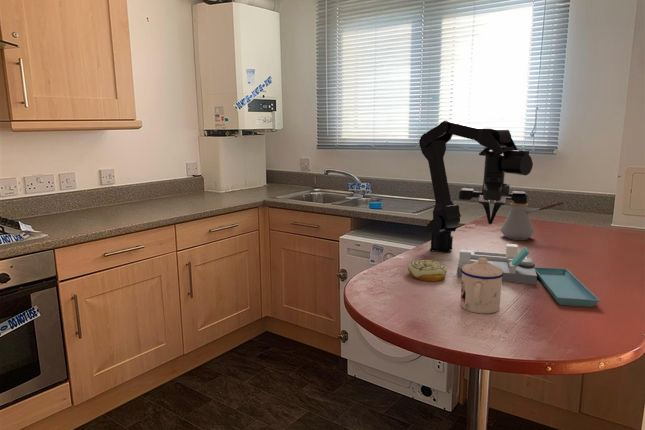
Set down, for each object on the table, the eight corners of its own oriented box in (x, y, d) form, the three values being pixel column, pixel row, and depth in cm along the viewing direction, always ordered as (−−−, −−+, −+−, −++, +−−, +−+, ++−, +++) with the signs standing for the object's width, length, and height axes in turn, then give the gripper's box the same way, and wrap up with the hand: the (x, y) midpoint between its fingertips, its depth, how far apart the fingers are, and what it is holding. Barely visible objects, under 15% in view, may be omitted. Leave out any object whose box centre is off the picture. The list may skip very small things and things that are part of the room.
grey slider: (458, 265, 133) (459, 251, 132) (459, 262, 135) (460, 249, 135) (470, 266, 132) (470, 252, 131) (470, 263, 134) (471, 250, 134)
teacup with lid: (462, 297, 116) (465, 251, 113) (502, 303, 112) (506, 255, 110) (453, 315, 105) (456, 264, 103) (497, 322, 101) (500, 269, 99)
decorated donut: (413, 283, 127) (413, 269, 126) (403, 271, 137) (404, 258, 137) (451, 282, 127) (452, 268, 127) (439, 270, 138) (439, 257, 137)
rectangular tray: (531, 273, 136) (532, 265, 135) (566, 275, 134) (567, 267, 134) (556, 307, 111) (557, 297, 110) (599, 310, 109) (600, 300, 108)
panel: (457, 277, 131) (458, 261, 130) (460, 259, 148) (461, 245, 147) (537, 285, 125) (538, 268, 124) (531, 266, 142) (532, 251, 141)
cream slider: (506, 259, 139) (507, 246, 138) (505, 256, 142) (506, 243, 141) (517, 260, 138) (518, 247, 137) (516, 257, 141) (517, 244, 140)
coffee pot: (496, 238, 176) (499, 198, 173) (504, 232, 185) (506, 194, 182) (560, 246, 164) (564, 203, 161) (564, 240, 174) (568, 199, 171)
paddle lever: (508, 269, 127) (525, 250, 125) (507, 263, 132) (524, 245, 130) (512, 272, 127) (530, 253, 125) (511, 267, 132) (528, 249, 130)
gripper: (459, 173, 135) (455, 227, 138) (530, 176, 128) (525, 232, 132) (462, 169, 145) (458, 219, 148) (528, 172, 139) (523, 224, 142)
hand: (490, 224), depth 142 cm, fingers closed
